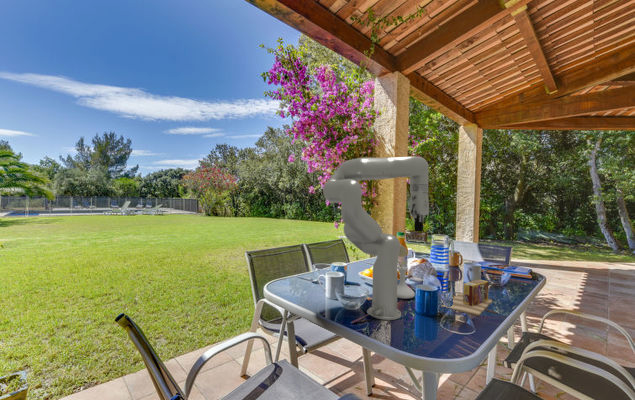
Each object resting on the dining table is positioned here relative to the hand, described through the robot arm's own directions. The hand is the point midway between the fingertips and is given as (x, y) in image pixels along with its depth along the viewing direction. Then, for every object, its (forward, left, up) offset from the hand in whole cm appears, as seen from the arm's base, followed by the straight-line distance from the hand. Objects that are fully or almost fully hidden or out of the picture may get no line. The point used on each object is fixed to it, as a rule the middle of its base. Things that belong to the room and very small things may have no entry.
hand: (418, 231), depth 121 cm
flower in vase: (+6, +11, -32) cm, 35 cm away
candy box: (+14, -16, -27) cm, 34 cm away
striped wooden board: (+18, -15, -32) cm, 40 cm away
